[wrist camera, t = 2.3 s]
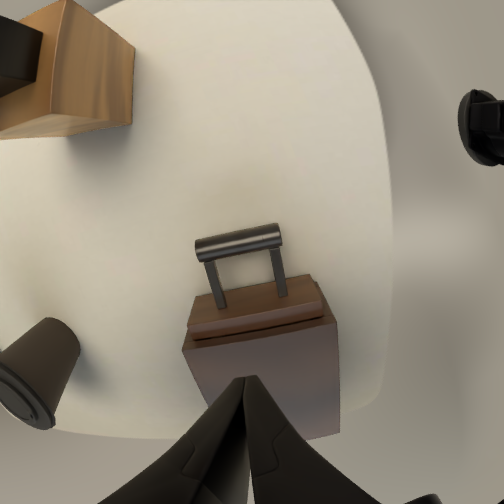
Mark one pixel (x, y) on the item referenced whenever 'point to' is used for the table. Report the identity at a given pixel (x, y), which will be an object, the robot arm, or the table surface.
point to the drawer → (250, 289)
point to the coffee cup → (38, 372)
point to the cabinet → (278, 369)
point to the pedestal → (71, 77)
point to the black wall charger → (18, 55)
